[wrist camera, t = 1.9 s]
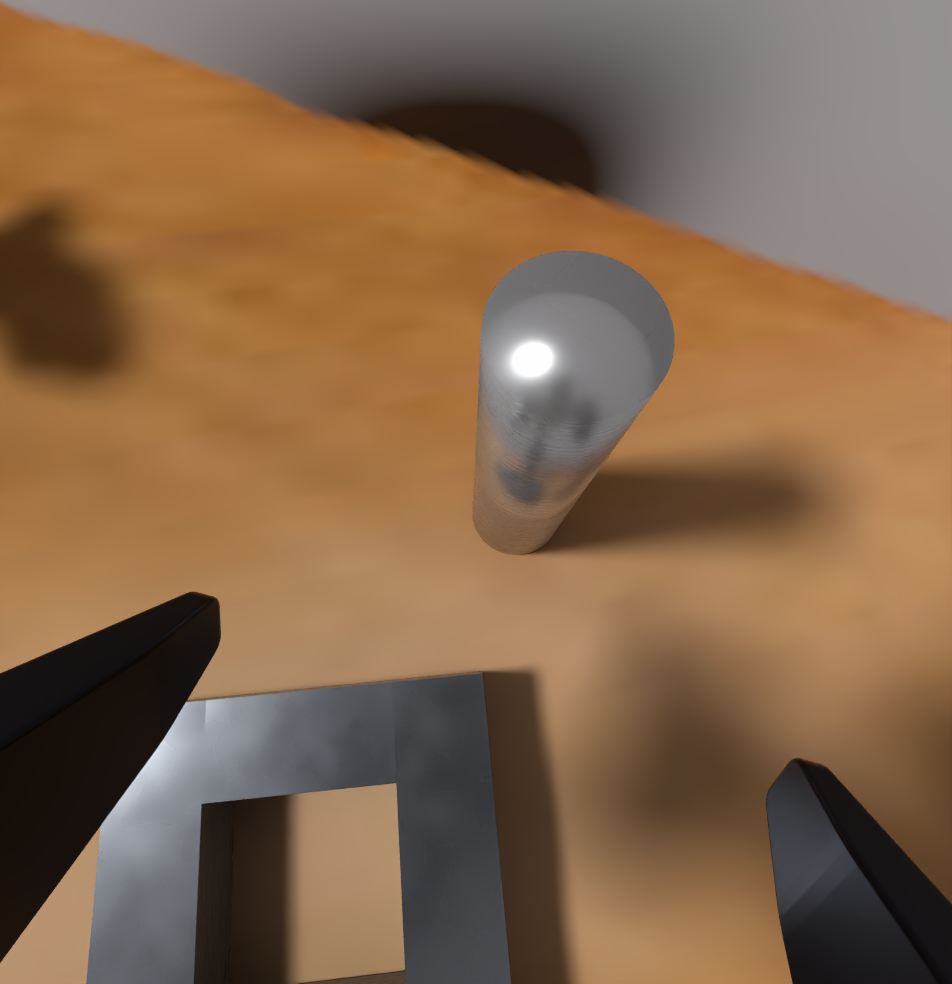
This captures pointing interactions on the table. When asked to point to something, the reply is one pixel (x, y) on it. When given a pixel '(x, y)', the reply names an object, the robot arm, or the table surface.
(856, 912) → the robot arm
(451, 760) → the block
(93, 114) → the table surface
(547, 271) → the axle
